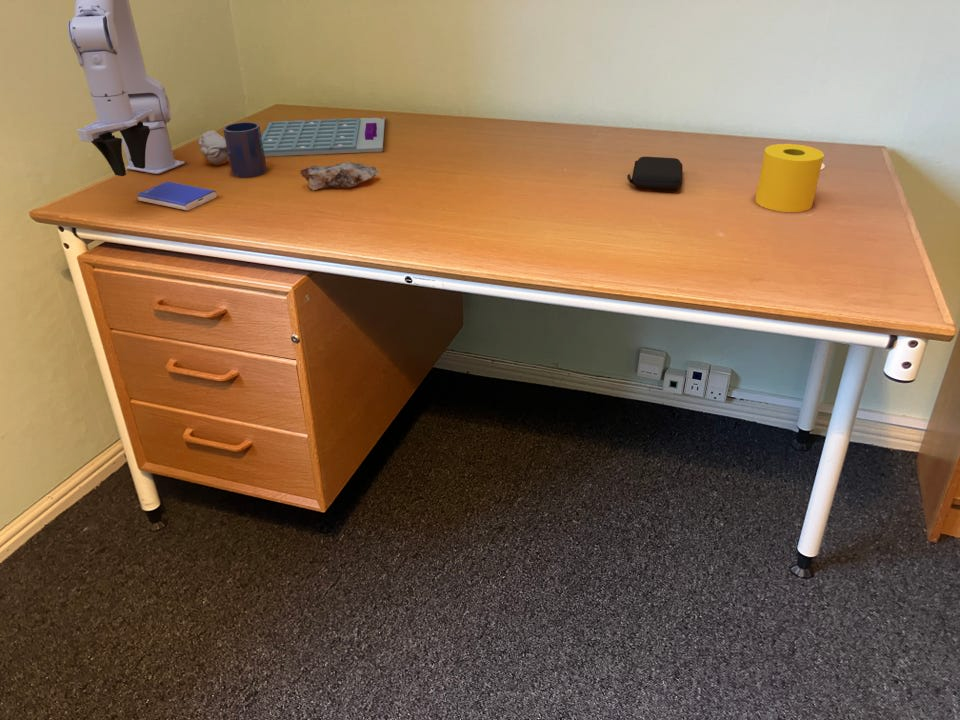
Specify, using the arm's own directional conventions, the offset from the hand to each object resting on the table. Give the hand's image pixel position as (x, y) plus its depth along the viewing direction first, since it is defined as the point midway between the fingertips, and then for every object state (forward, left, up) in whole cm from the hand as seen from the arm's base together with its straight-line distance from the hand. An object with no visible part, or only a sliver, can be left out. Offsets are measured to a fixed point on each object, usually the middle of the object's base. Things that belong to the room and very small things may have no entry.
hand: (130, 171), depth 135 cm
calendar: (+2, +55, -9) cm, 56 cm away
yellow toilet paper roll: (+106, +54, -9) cm, 120 cm away
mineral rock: (+24, +29, -9) cm, 39 cm away
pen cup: (+2, +28, -8) cm, 29 cm away
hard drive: (0, +9, -9) cm, 12 cm away
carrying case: (+82, +56, -9) cm, 99 cm away
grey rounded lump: (-8, +29, -9) cm, 31 cm away
